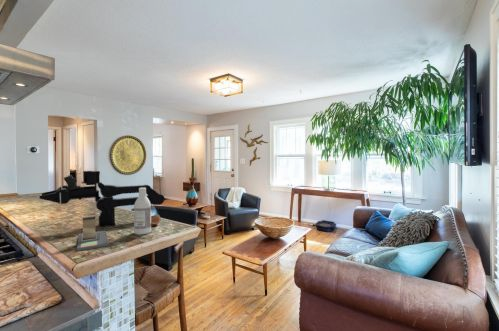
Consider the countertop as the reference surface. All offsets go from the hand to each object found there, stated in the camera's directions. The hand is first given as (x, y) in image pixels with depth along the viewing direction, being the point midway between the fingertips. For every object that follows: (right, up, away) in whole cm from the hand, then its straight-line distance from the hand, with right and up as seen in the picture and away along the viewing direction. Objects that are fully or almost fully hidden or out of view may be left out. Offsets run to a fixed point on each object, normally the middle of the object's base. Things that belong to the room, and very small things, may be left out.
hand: (40, 195), depth 108 cm
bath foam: (+44, -17, +2) cm, 47 cm away
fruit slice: (+43, -17, +14) cm, 48 cm away
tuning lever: (+29, -15, -12) cm, 35 cm away
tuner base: (+29, -17, -9) cm, 35 cm away
